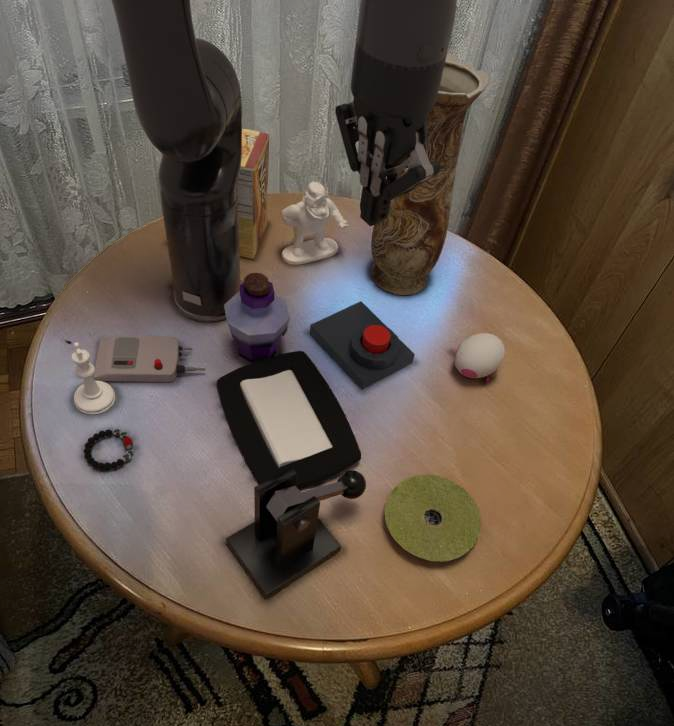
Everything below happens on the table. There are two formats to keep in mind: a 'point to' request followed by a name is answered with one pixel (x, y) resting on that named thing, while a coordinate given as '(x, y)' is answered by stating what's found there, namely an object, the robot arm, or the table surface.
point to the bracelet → (107, 466)
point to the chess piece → (90, 386)
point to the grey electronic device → (139, 359)
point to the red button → (376, 339)
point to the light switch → (287, 419)
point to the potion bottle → (257, 318)
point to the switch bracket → (282, 539)
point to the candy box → (252, 191)
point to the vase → (427, 190)
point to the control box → (359, 345)
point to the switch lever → (317, 493)
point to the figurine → (311, 226)
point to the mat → (432, 517)
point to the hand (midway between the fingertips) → (372, 219)
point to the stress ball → (479, 355)
